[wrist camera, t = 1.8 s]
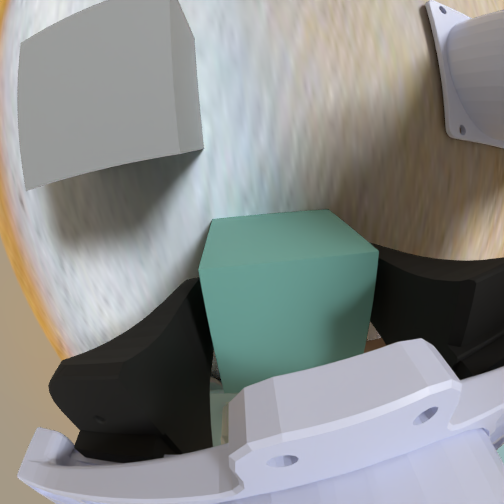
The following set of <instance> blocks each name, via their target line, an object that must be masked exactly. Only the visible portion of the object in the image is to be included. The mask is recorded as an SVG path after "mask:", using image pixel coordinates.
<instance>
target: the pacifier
mask: <svg viewBox="0 0 504 504" xmlns="http://www.w3.org/2000/svg"><path fill="white" fill-rule="evenodd" d="M237 394H238V393H224V390H223V386H222V383H221V382H220V381H218V380H217V379H215V378H213V377H211V376H210V413H211V429H212V441H213V447H215V446H219V445H222V444H226V443H229V427H228V424H229V402H230V401H231V400H232V399H233V398H234V397H235V396H236V395H237Z"/></svg>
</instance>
